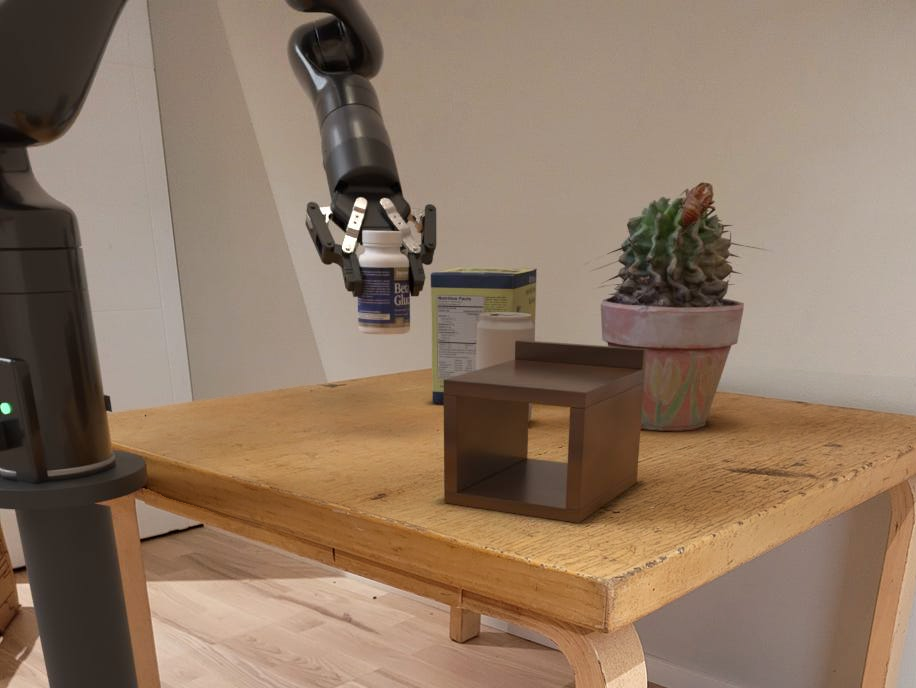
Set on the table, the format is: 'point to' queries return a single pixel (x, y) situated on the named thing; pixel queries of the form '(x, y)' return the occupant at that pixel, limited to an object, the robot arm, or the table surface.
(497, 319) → the beverage can
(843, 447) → the table surface
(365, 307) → the pill bottle
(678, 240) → the potted plant
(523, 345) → the shelf
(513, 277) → the protein box
